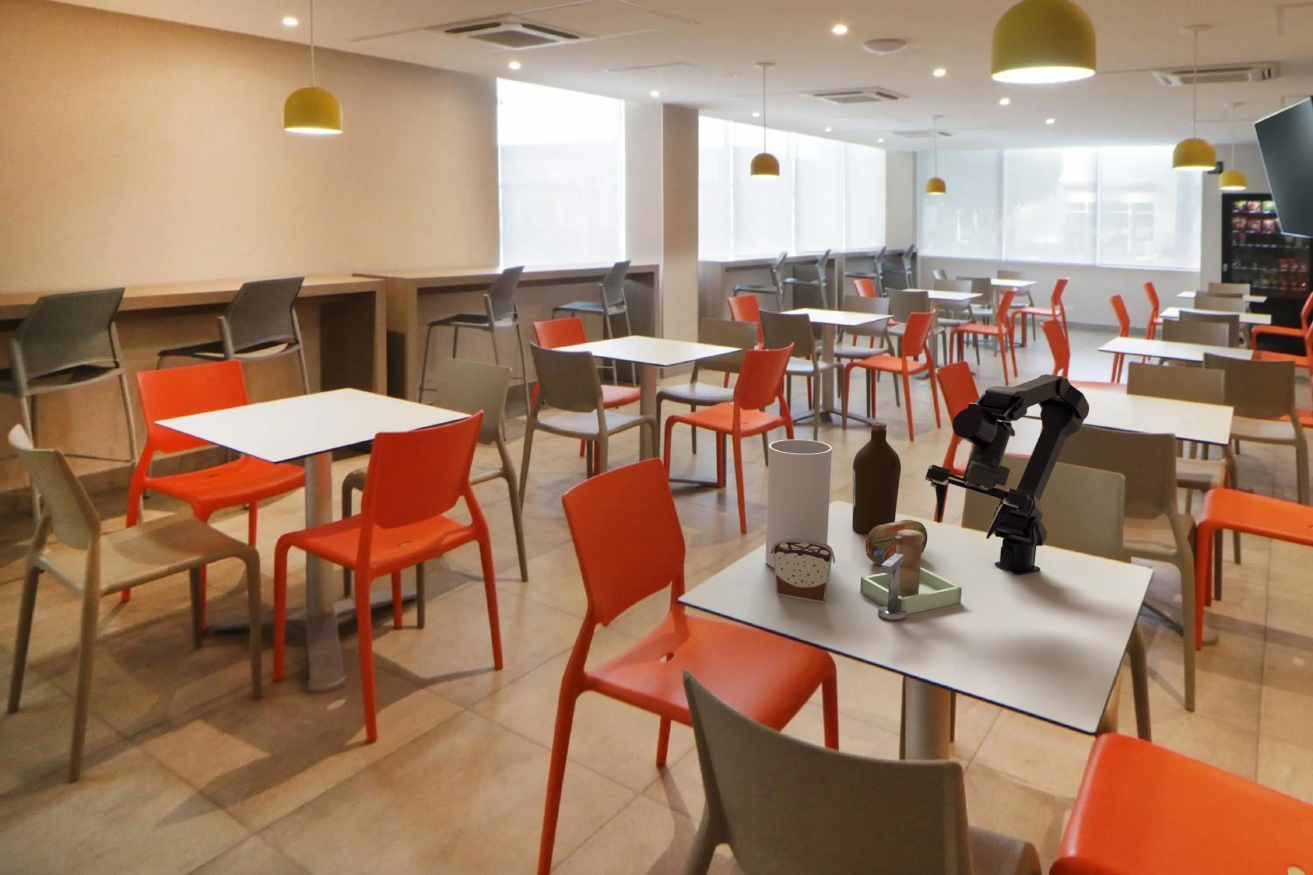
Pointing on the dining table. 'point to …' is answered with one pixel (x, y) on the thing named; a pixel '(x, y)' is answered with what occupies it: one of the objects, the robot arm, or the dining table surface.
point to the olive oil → (875, 482)
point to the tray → (930, 595)
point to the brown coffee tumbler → (909, 561)
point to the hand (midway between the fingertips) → (962, 530)
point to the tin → (889, 539)
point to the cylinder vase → (797, 492)
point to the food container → (802, 568)
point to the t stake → (892, 589)
